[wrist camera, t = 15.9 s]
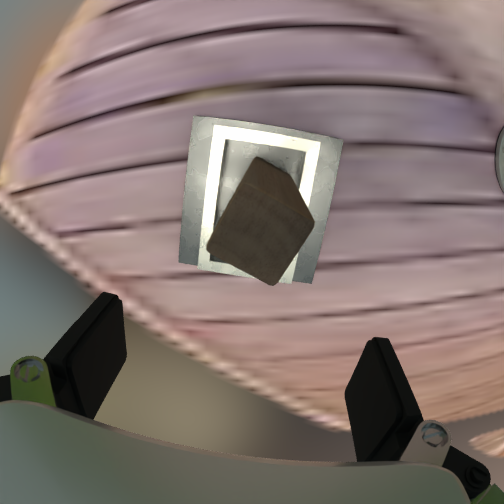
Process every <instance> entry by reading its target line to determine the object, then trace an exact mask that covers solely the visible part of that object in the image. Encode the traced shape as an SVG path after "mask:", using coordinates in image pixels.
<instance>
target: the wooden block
mask: <svg viewBox="0 0 504 504" xmlns="http://www.w3.org/2000/svg"><path fill="white" fill-rule="evenodd" d="M314 226H315V221H314V219H313V217H312V215H311V213H310V211H309V209H308V207H307V205H306V203H305V201H304V199H303V197H302V195H301V193H300V192H299V190H298V188H297V186H296V184H295V182H294V180H293V178H292V177H291V175H290V174H288V173H287V172H285V171H283V170H281V169H280V168H278V167H276V166H274V165H273V164H271V163H269V162H267V161H266V160H264V159H262V158H260V157H255V158H254V159H253V160H252V162H251V164H250V166H249V167H248V169H247V171H246V173H245V174H244V176H243V178H242V180H241V182H240V183H239V185H238V187H237V189H236V190H235V192H234V194H233V196H232V198H231V199H230V201H229V203H228V205H227V207H226V209H225V210H224V212H223V214H222V216H221V218H220V220H219V221H218V223H217V225H216V227H215V229H214V231H213V233H212V234H211V237H210V239H209V240H208V242H207V245H206V250H207V251H208V252H209V253H210V254H211V255H213V256H215V257H217V258H219V259H221V260H223V261H224V262H226V263H228V264H230V265H232V266H234V267H236V268H238V269H240V270H242V271H243V272H245V273H247V274H249V275H251V276H253V277H255V278H257V279H259V280H261V281H263V282H265V283H266V284H268V285H272V286H274V285H275V284H276V283H278V282H279V280H280V279H281V277H282V276H283V274H284V273H285V271H286V270H287V268H288V267H289V265H290V264H291V262H292V261H293V259H294V258H295V256H296V255H297V253H298V252H299V250H300V248H301V247H302V245H303V244H304V242H305V241H306V239H307V238H308V236H309V235H310V233H311V232H312V230H313V228H314Z"/></svg>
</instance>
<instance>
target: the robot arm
mask: <svg viewBox="0 0 504 504" xmlns="http://www.w3.org/2000/svg"><path fill="white" fill-rule="evenodd" d="M495 160H496V172H497V177H498V181H499V184H500V186H501V189H502V191H503V192H504V128H503V130H502V131H501V133H500V136H499V139H498V142H497V147H496V157H495ZM126 357H127V351H126V341H125V330H124V319H123V304H122V300H120V299H119V297H118V296H117V295H115V294H111V293H107V292H103V293H101V294H100V296H99V297H98V298H97V299H96V300H95V301H94V302H93V303H92V304H91V305H90V307H89V308H88V309H87V310H86V311H85V312H84V313H83V314H82V315H81V317H80V318H79V319H78V320H77V321H76V322H75V323H74V324H73V325H72V326H71V327H70V328H69V329H68V331H67V332H66V333H65V334H64V335H63V336H62V338H61V339H60V340H59V341H58V342H57V343H56V345H55V346H54V347H53V348H52V349H51V351H50V352H49V353H48V354H47V355H46V357H45V358H44V359H41V358H39V357H36V356H25V357H22V358H20V359H18V360H17V361H15V362H14V364H13V365H12V367H11V370H10V375H6V376H1V377H0V504H504V492H503V491H502V490H501V489H500V488H499V487H498V486H497V485H496V484H493V485H491V484H490V480H491V478H490V473H489V471H488V469H487V468H486V467H485V466H484V465H483V464H482V463H480V462H478V461H476V460H475V459H473V458H471V457H469V456H468V455H466V454H464V453H463V452H461V451H459V450H458V449H456V448H454V447H452V446H451V445H450V444H451V440H452V438H451V433H450V431H449V430H448V428H447V427H446V426H445V425H443V424H442V423H441V422H438V421H436V420H425V421H424V420H423V417H422V414H421V411H420V409H419V406H418V404H417V402H416V399H415V397H414V394H413V392H412V390H411V387H410V385H409V383H408V380H407V378H406V376H405V374H404V371H403V369H402V367H401V365H400V362H399V360H398V358H397V356H396V354H395V351H394V349H393V347H392V345H391V343H390V341H389V339H388V338H380V337H373V338H372V340H369V341H368V342H367V343H366V346H365V348H364V350H363V353H362V355H361V357H360V359H359V362H358V364H357V366H356V368H355V370H354V373H353V375H352V377H351V379H350V381H349V383H348V385H347V387H346V390H345V401H346V406H347V411H348V416H349V421H350V426H351V431H352V435H353V441H354V446H355V452H356V457H357V462H311V461H292V460H278V459H268V458H267V459H266V458H257V457H249V456H241V455H234V454H227V453H221V452H215V451H209V450H204V449H199V448H194V447H189V446H184V445H179V444H175V443H171V442H166V441H162V440H158V439H154V438H151V437H146V436H143V435H140V434H136V433H133V432H129V431H126V430H123V429H120V428H117V427H113V426H110V425H107V424H104V423H101V422H98V421H95V420H93V419H94V417H95V416H96V413H97V411H98V410H99V408H100V406H101V404H102V402H103V401H104V399H105V397H106V395H107V393H108V391H109V390H110V388H111V386H112V384H113V382H114V381H115V379H116V377H117V375H118V373H119V372H120V370H121V368H122V366H123V364H124V363H125V361H126Z"/></svg>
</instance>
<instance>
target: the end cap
mask: <svg viewBox="0 0 504 504" xmlns="http://www.w3.org/2000/svg"><path fill="white" fill-rule="evenodd" d="M342 145H343V140H342V139H337V138H333V137H328V136H324V135H319V134H314V133H309V132H304V131H299V130H294V129H288V128H283V127H277V126H271V125H265V124H258V123H252V122H245V121H237V120H229V119H221V118H212V117H202V116H194V117H193V124H192V131H191V138H190V146H189V154H188V162H187V171H186V180H185V190H184V200H183V210H182V222H181V234H180V247H179V263H185V264H191V265H197V266H198V269H201V270H207V271H213V272H219V273H225V274H231V275H237V276H243V277H250V278H255V277H253V276H251V275H249V274H247V273H245V272H243V271H242V270H240V269H238V268H236V267H234V266H232V265H230V264H228V263H226V262H224V261H223V260H221V259H219V258H217V257H215V256H213V255H211V254H210V253H209V252H208V251H207V250H206V245H207V242H208V240H209V239H210V237H211V234H212V233H213V231H214V229H215V227H216V225H217V223H218V221H219V220H220V218H221V216H222V214H223V212H224V210H225V209H226V207H227V205H228V203H229V201H230V199H231V198H232V196H233V194H234V192H235V190H236V189H237V187H238V185H239V183H240V182H241V180H242V178H243V176H244V174H245V173H246V171H247V169H248V167H249V166H250V164H251V162H252V160H253V159H254V158H255V157H260V158H262V159H264V160H266V161H267V162H269V163H271V164H273V165H274V166H276V167H278V168H280V169H281V170H283V171H285V172H287V173H288V174H290V175H291V177H292V178H293V180H294V182H295V184H296V186H297V188H298V190H299V192H300V193H301V195H302V197H303V199H304V201H305V203H306V205H307V207H308V209H309V211H310V213H311V215H312V217H313V219H314V221H315V226H314V228H313V230H312V232H311V233H310V235H309V236H308V238H307V239H306V241H305V242H304V244H303V245H302V247H301V248H300V250H299V252H298V253H297V255H296V256H295V258H294V259H293V261H292V262H291V264H290V265H289V267H288V268H287V270H286V271H285V273H284V274H283V276H282V277H281V279H280V280H279V282H282V283H288V284H291V283H292V281H297V282H303V283H310V284H312V280H313V276H314V272H315V268H316V264H317V260H318V256H319V252H320V248H321V244H322V239H323V235H324V231H325V227H326V222H327V218H328V213H329V209H330V204H331V200H332V195H333V190H334V186H335V181H336V176H337V171H338V166H339V161H340V156H341V150H342ZM256 279H257V278H256Z"/></svg>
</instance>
